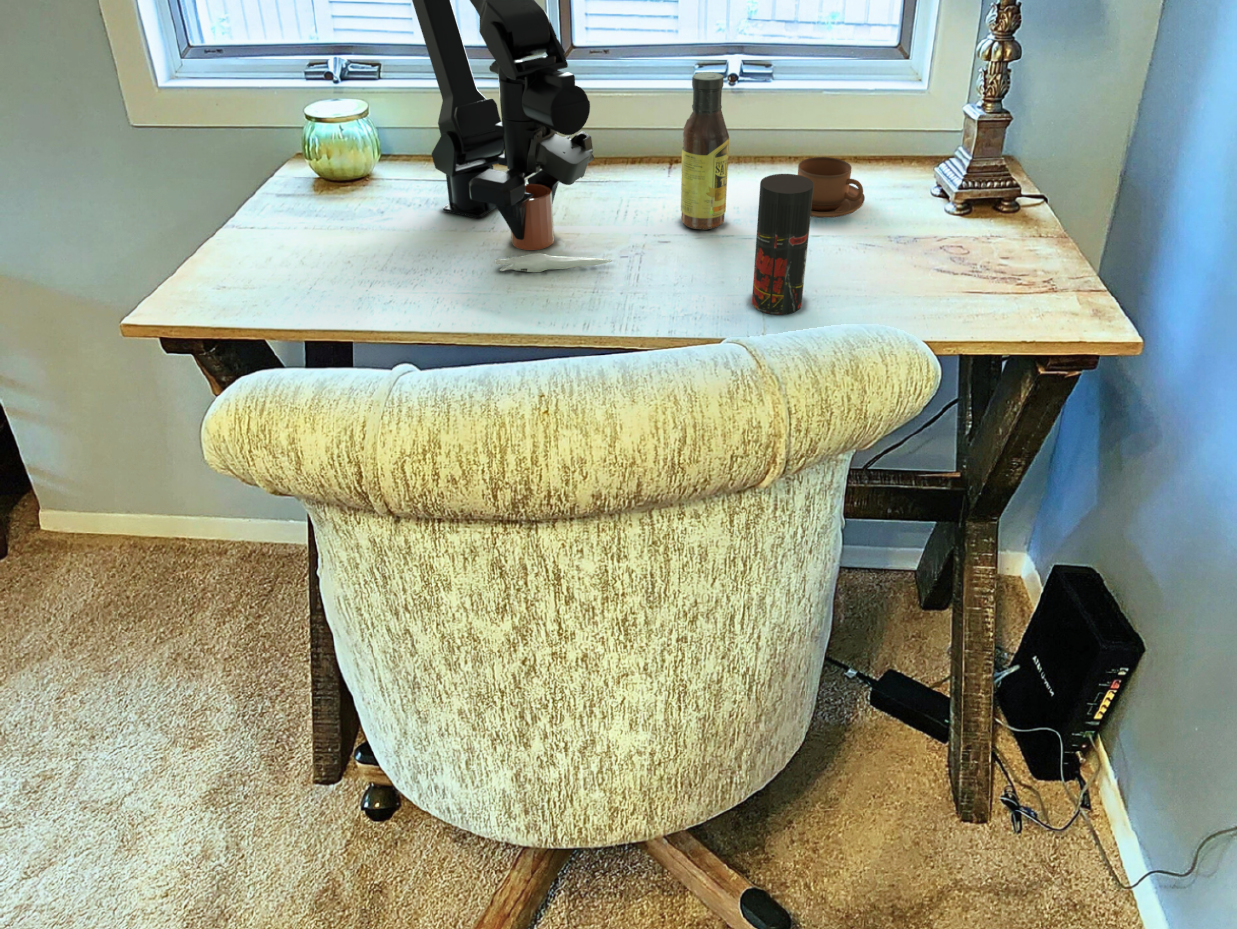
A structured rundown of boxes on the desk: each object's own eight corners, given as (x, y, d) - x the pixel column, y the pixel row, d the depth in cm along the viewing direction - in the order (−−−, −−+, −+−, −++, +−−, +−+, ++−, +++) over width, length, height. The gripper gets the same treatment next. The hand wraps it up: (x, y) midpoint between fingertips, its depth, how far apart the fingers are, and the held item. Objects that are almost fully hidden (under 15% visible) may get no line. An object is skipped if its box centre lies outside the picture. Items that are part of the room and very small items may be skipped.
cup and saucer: (868, 197, 149) (874, 155, 146) (856, 229, 140) (861, 186, 137) (787, 188, 153) (790, 147, 149) (770, 219, 143) (773, 176, 140)
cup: (503, 245, 138) (499, 195, 134) (526, 229, 142) (523, 180, 138) (539, 253, 136) (536, 203, 131) (561, 237, 140) (559, 187, 135)
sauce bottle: (722, 233, 140) (729, 84, 128) (677, 230, 141) (680, 82, 129) (727, 214, 145) (735, 70, 133) (684, 211, 146) (687, 68, 134)
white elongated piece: (495, 275, 131) (494, 261, 129) (496, 266, 133) (495, 252, 132) (612, 271, 131) (612, 258, 130) (611, 262, 133) (611, 249, 132)
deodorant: (747, 293, 126) (755, 174, 117) (795, 290, 126) (807, 172, 117) (757, 316, 121) (766, 194, 112) (806, 313, 121) (819, 192, 112)
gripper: (539, 147, 119) (546, 270, 128) (615, 102, 132) (617, 216, 141) (460, 133, 123) (473, 253, 132) (542, 91, 136) (548, 202, 146)
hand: (532, 230), depth 138 cm, fingers closed on cup, 6 cm apart
